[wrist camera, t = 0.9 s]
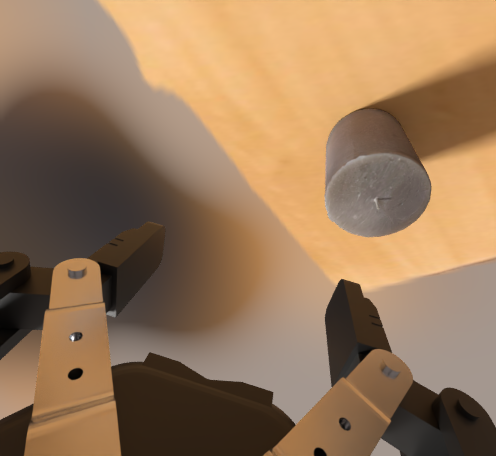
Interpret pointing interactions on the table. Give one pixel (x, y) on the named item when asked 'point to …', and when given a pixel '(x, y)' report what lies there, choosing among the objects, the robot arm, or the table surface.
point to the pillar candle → (373, 175)
